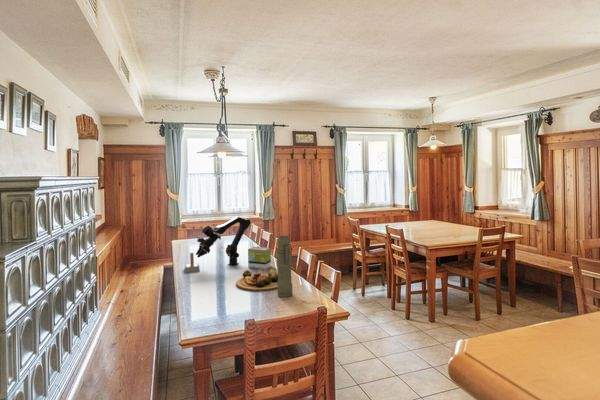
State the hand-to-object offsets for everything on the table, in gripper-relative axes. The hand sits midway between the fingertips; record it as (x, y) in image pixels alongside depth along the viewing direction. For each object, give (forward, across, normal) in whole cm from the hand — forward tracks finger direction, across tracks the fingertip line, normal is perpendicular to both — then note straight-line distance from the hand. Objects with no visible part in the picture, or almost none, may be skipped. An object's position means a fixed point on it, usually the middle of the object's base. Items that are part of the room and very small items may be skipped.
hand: (196, 255), depth 283 cm
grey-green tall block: (-21, +83, +36) cm, 93 cm away
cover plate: (+8, -3, +4) cm, 10 cm away
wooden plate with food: (-16, +55, +32) cm, 65 cm away
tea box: (-24, +11, +40) cm, 48 cm away
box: (+10, -2, +5) cm, 12 cm away
